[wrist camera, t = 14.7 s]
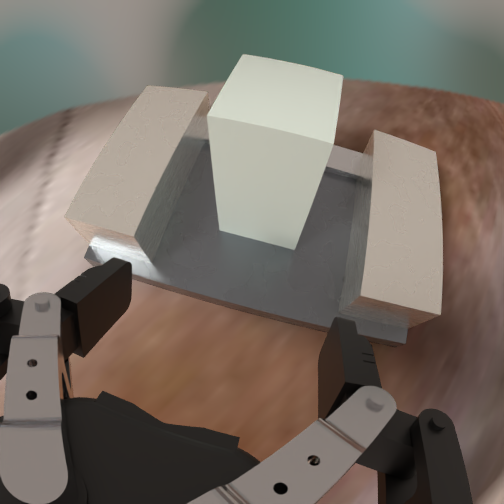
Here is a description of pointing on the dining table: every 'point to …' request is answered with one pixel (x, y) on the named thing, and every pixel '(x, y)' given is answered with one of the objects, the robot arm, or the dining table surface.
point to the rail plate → (261, 253)
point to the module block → (271, 146)
